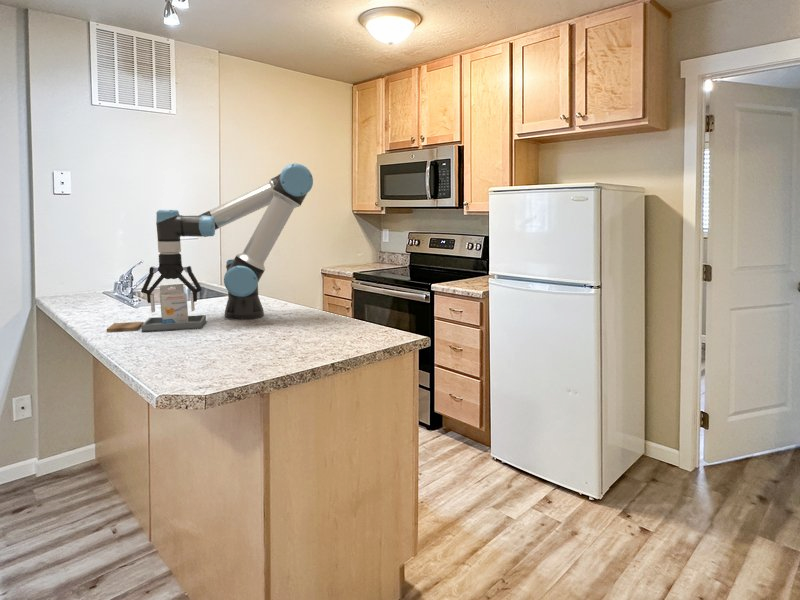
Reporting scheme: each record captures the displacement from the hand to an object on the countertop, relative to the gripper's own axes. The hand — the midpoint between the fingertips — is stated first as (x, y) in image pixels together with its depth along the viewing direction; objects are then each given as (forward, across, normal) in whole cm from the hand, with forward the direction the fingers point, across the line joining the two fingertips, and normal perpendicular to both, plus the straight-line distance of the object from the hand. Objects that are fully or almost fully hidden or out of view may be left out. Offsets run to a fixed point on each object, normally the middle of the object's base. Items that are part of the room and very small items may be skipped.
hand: (173, 311), depth 194 cm
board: (+6, +17, -2) cm, 18 cm away
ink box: (+5, 0, 0) cm, 5 cm away
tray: (+6, 0, 0) cm, 6 cm away
